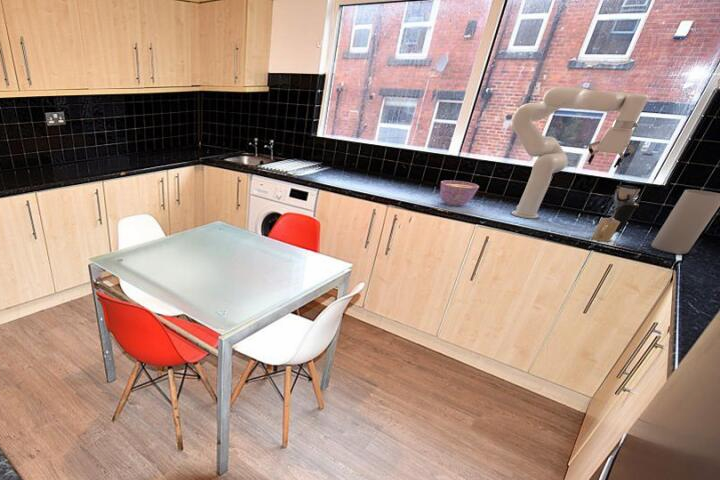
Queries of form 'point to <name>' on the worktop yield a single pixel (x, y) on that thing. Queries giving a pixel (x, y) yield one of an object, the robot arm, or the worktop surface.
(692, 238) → the taupe cylinder
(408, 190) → the worktop surface
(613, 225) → the wooden mug
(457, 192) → the bowl of food
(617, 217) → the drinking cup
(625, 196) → the wine glass
